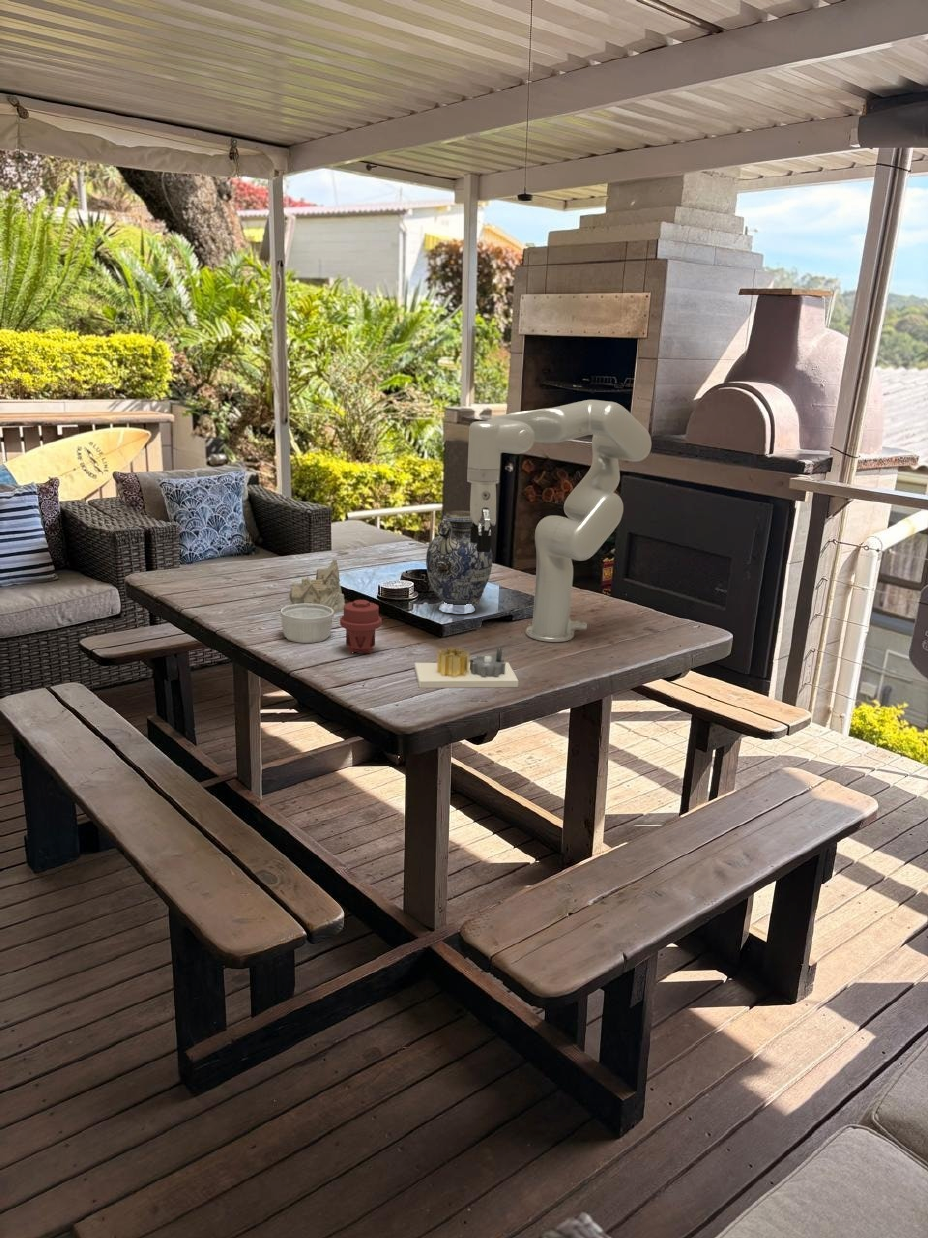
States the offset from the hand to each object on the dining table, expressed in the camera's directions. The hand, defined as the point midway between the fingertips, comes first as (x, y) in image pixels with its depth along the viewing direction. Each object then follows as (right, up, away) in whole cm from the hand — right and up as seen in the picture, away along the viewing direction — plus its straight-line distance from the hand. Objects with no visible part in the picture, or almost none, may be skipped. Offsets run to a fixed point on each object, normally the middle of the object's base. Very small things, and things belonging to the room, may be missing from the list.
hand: (479, 547), depth 219 cm
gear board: (-4, -31, -11) cm, 33 cm away
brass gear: (-6, -29, -12) cm, 32 cm away
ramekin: (-43, -22, +12) cm, 50 cm away
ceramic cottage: (-45, -14, +38) cm, 60 cm away
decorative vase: (-6, -15, +41) cm, 44 cm away
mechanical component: (-29, -25, +4) cm, 38 cm away
